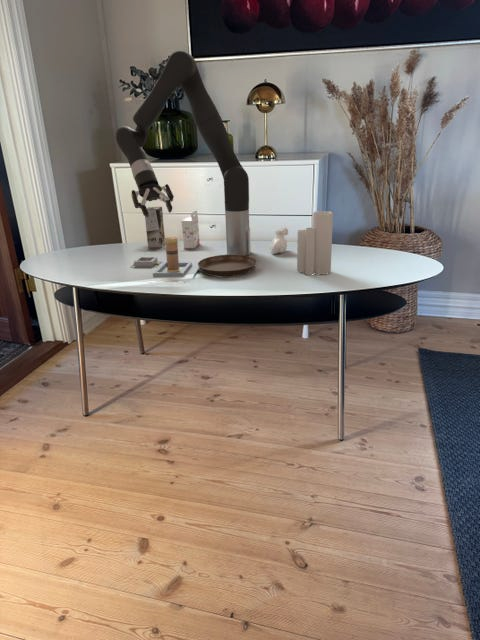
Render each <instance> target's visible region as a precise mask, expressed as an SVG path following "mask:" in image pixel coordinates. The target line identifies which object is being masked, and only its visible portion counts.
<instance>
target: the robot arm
mask: <svg viewBox="0 0 480 640" xmlns="http://www.w3.org/2000/svg"><path fill="white" fill-rule="evenodd" d="M180 86H181V89H182V91H183V92H184V94H185V96H186V98H187V100H188V103H189V104H188V105H189V107H190V110H191V111H190V112H191V115H192V117H193V121H194V122H195V126H196V128H197V130H198V132H199V134H200V136H201V138H202V140H203V141H204V143H205V144H206V146H207V148H208V149H209V151H210V152H211V154H212V156H213V157H214V159H215V160H216V162H217V165H218V167H219V170H220V171H221V173H220V174H221V175H222V178H223V190H224V191H223V193H224V215H225V216H224V217H225V219H224V220H225V237H226V238H225V240H226V255H244V256H250V253H251V251H252V249H251V248H252V247H251V228H250V180H249V175H248V173H247V171H246V170H245V168H244V167H243V166H242V164H241V162H240V161H239V159H238V157H237V155H236V154H235V151H234V149H233V146H232V144H231V141H230V137H229V133H228V131H227V129H226V126H225V123H224V122H223V119H222V116H221V115H220V112H219V111H218V109H217V107H216V105H215V103H214V101H213V100H212V98H211V96H210V95H209V93H208V91H207V89H206V86H205V85H204V82H203V79H202V77H201V74H200V71H199V67H198V66H197V62H196V60H195V58H194V56H192V54H191V53H189V52H187V51H184V50H176V51H174V52H172V53H171V54H170V56H169V57H168V59H167V61H166V64H165V66H164V68H163V70H162V72H161V73H160V75H159V78H158V79H157V81H156V83H155V84H154V86H153V87H152V89H151V91H150V92H149V93H148V95H147V96H146V97H145V99H144V100H143V102H142V103H141V104H140V105H139V107H138V108H137V110H136V112H135V113H134V115H133V116H132V120H133V122H134V123H135V125H136V127H135V128H134V129H133V128H132V127H129V126H126V125H122V126H120V127H119V128H117V130H116V133H115V140H116V143H117V146H118V147H119V149H120V150H121V152H122V153H123V155H124V156H125V158H126V159H127V161H128V164H129V167H130V169H131V172H132V173H131V175H132V177H133V179H134V182H135V184H136V187H137V189H138V190H134V189H132V190H131V193H130V195H131V199H132V202H133V205H134V208H135V209H140V210H141V212H142V214H143V216H144V217H145V216H146V217H148V216H149V214H148V211H147V208H148V207H147V206H146V204H147V202H153V201H158V200H159V201H160V202H163V203H165V207H166V208H167V211H168V214H169V213H172V211H173V205H172V202H174V193H173V192H172V190H171V187H170V186H169V184H168V183H167V184H165V185H163V186H160V184H159V181H158V178H157V177H156V174H155V172H154V169H153V166H152V164H151V163H150V160H149V158H148V154H147V153H146V151H145V150H144V149H143V146H144V145H145V143H146V140H147V138H148V134H149V132H150V129H151V127H152V126H153V125H154V124H155V122H156V120H157V119H158V118H159V117H160V115H161V114H162V111H163V110H164V108H165V106H166V104H167V102H168V100H169V99H170V97H171V96H172V94H173V93H174V92H175V90H176V89H177V88H178V87H180ZM139 196H140V197H141V198H142V200H141V202H139V200H138V197H139Z"/></svg>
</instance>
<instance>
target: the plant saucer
mask: <svg viewBox="0 0 480 640" xmlns="http://www.w3.org/2000/svg"><path fill="white" fill-rule="evenodd" d="M257 262H258V261H257V259H255V258H254V257H252V256H250V255H228V254H219V255H213V256H209V257H205V258H203V259H201V260H200V261H198V262H197V266H198V267H199V269H200V270H201V271H202V272H203V273H204V274H206V275H207V276H211V277H219V278H220V277H222V278H223V277H224V278H227V277H230V276H231V277H237V276H238V275H239V276H243V275H246V274H248V273H249V272H251V271H252V270H253V269H254V268H255V266H256V265H257Z"/></svg>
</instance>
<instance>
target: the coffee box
mask: <svg viewBox="0 0 480 640" xmlns="http://www.w3.org/2000/svg"><path fill="white" fill-rule="evenodd" d="M146 208H147V211H148V214H149V216H148V217H146V216H144V219H145V231H146V240H147V248H149V249H150V248H163V247H164V245H166V243H165V238H166V236H165V226H164V225H165V223H164V214H163V213H164V212H163V206H152V207H149V206H148V207H146Z"/></svg>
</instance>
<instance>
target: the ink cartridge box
mask: <svg viewBox="0 0 480 640" xmlns="http://www.w3.org/2000/svg"><path fill="white" fill-rule="evenodd" d="M180 222H181V229H182V230H181V231H182V240H183V242H182V243H183V249H195V248H196V247H198V246H199V245H200V244H201V243H200V242H201V241H200V229H199V227H200V226H199V216H198V211H197V209H196V210H194V211H193V212H191V213H190V217H186V218H184V219H182V220H181V221H180Z"/></svg>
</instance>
